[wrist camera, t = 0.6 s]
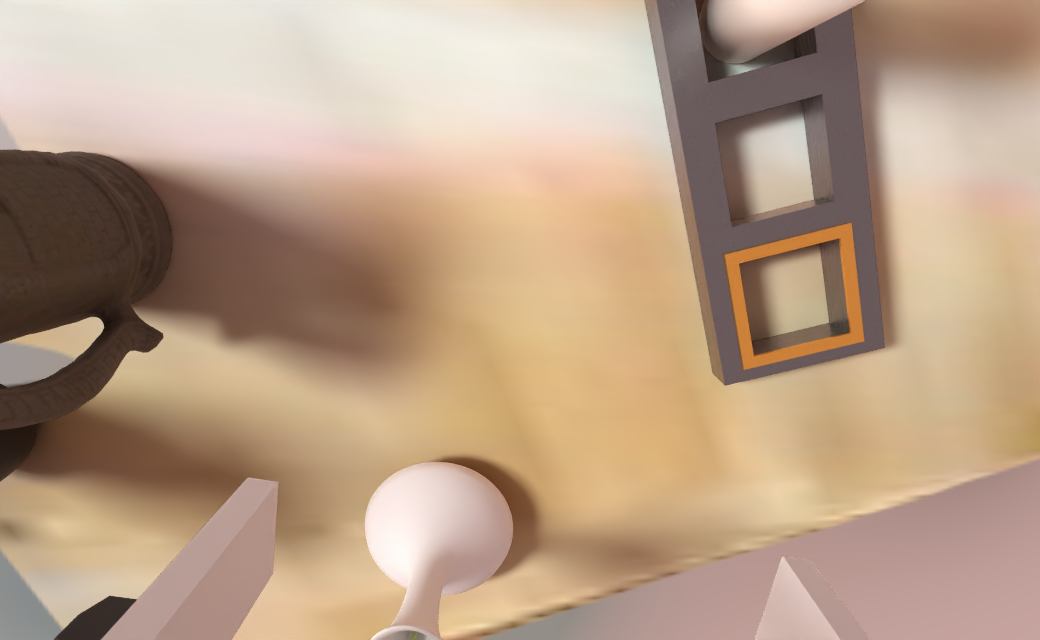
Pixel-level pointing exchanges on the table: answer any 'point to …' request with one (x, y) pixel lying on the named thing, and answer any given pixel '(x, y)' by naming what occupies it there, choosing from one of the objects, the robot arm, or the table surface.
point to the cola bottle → (14, 447)
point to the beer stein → (75, 268)
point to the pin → (760, 24)
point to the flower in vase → (435, 539)
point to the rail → (826, 220)
